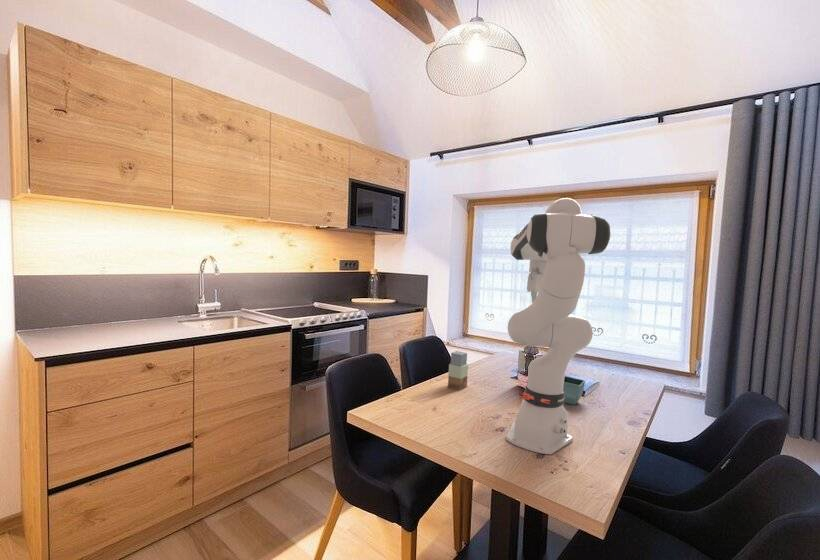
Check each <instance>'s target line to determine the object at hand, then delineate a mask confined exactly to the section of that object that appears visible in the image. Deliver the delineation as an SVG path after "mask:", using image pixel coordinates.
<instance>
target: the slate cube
mask: <svg viewBox="0 0 820 560" xmlns="http://www.w3.org/2000/svg"><path fill="white" fill-rule="evenodd" d="M467 363H468V353H467V352H463V351H458V350H455V351H453V352H452V351H451V353H450V364H451V365H455V366H460V367H462V366H464V365H466V364H467Z"/></svg>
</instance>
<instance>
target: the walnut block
mask: <svg viewBox="0 0 820 560" xmlns="http://www.w3.org/2000/svg"><path fill="white" fill-rule="evenodd" d="M467 387H468V375H467V376H466V377H464V378H462V379H459V378H455V377H451V376H448V379H447V388H449V389H454V390H457V391H462V390H464V389H467Z"/></svg>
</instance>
